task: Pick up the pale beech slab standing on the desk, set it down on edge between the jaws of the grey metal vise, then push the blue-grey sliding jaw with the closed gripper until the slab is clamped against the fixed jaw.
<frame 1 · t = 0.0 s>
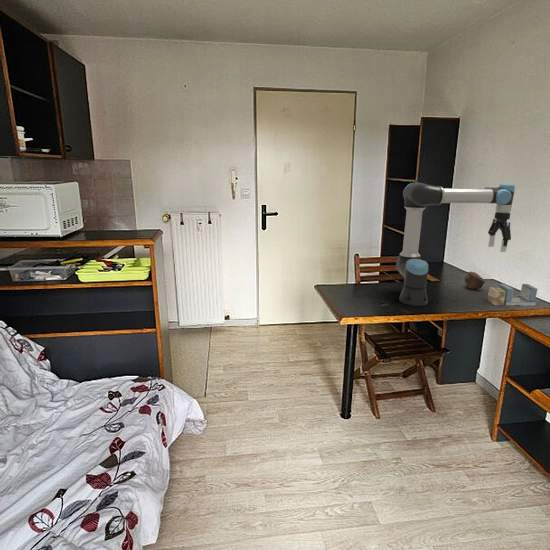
hand: (496, 249, 229), 28 cm above the table, fingers open, 13 cm apart
rock: (472, 288, 249), on the table
jaw: (505, 292, 224), point 6 cm above the table, slide at 0.0 cm
block: (495, 302, 224), on the table
vise: (515, 302, 226), on the table
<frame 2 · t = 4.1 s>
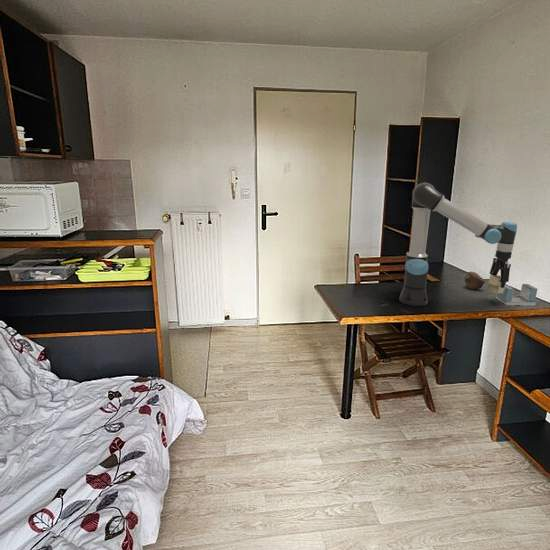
hand: (496, 290, 223), 7 cm above the table, fingers closed on block, 8 cm apart
block: (495, 291, 223), point 7 cm above the table, touching gripper
everything else where it was.
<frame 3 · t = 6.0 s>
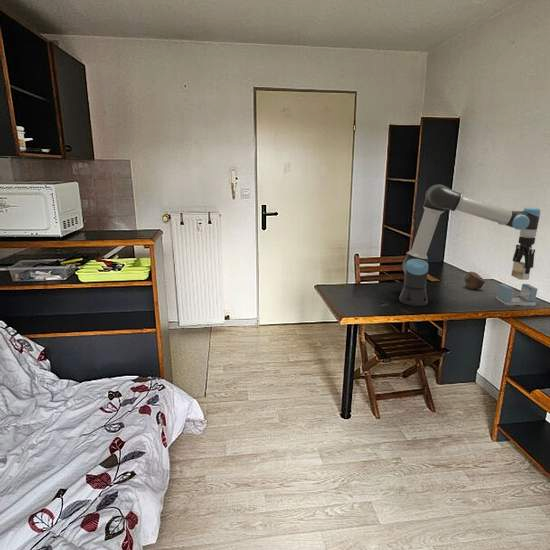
hand: (520, 276, 222), 15 cm above the table, fingers closed on block, 8 cm apart
block: (519, 277, 222), point 15 cm above the table, touching gripper
everything else where it was.
when the fingers open (3 cm above the table, at t = 8.0 s): block drops 1 cm, resting on vise.
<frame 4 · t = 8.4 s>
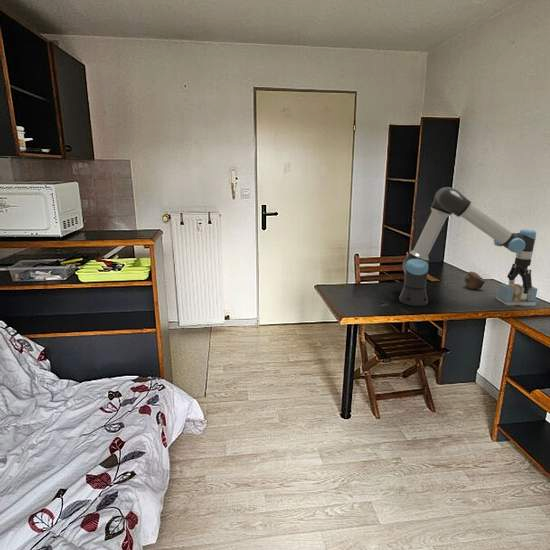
hand: (516, 294, 224), 4 cm above the table, fingers open, 12 cm apart
block: (515, 299, 225), point 1 cm above the table, touching vise
everything else where it was.
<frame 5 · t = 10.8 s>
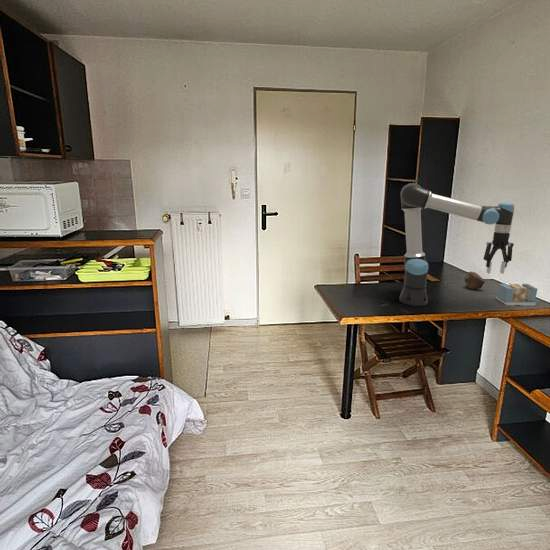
hand: (495, 272, 221), 17 cm above the table, fingers open, 7 cm apart
nothing on the table moved.
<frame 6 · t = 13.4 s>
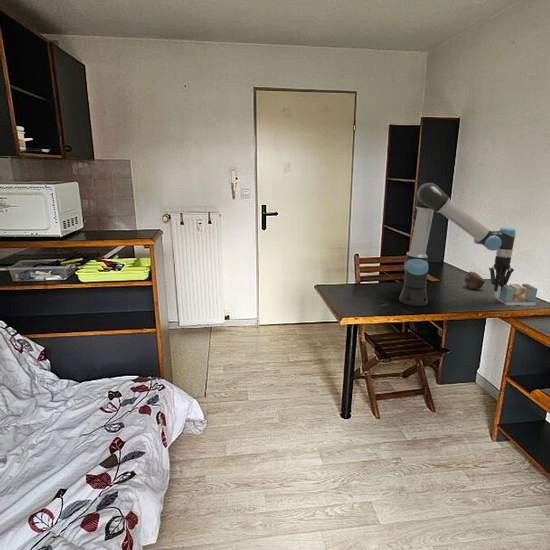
hand: (496, 296, 225), 3 cm above the table, fingers closed
jaw: (505, 292, 224), point 6 cm above the table, slide at 0.1 cm, touching gripper
everything else where it was.
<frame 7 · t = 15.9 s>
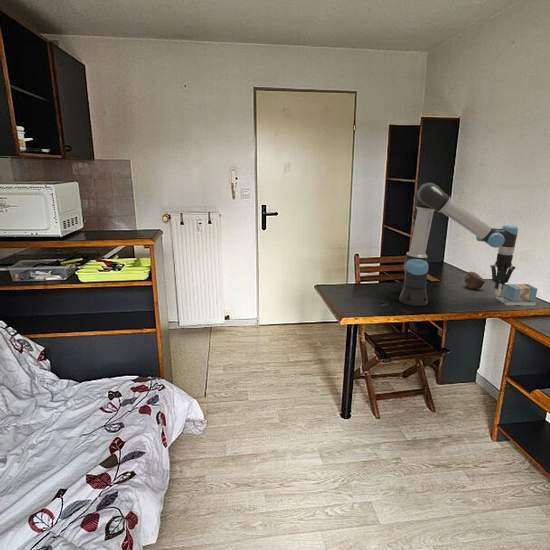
hand: (497, 294, 225), 4 cm above the table, fingers closed
jaw: (512, 292, 224), point 6 cm above the table, slide at 4.0 cm
block: (519, 299, 225), point 1 cm above the table, touching vise
everything else where it was.
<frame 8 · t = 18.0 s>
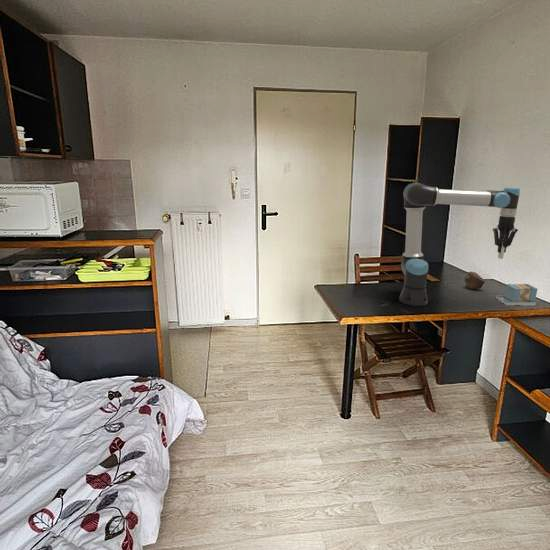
hand: (500, 258, 223), 24 cm above the table, fingers closed
nothing on the table moved.
at the end: jaw slide at 4.0 cm; block 0.2 cm from the target spot on the vise, point 1.5 cm above the vise's base; block tilted 0° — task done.
